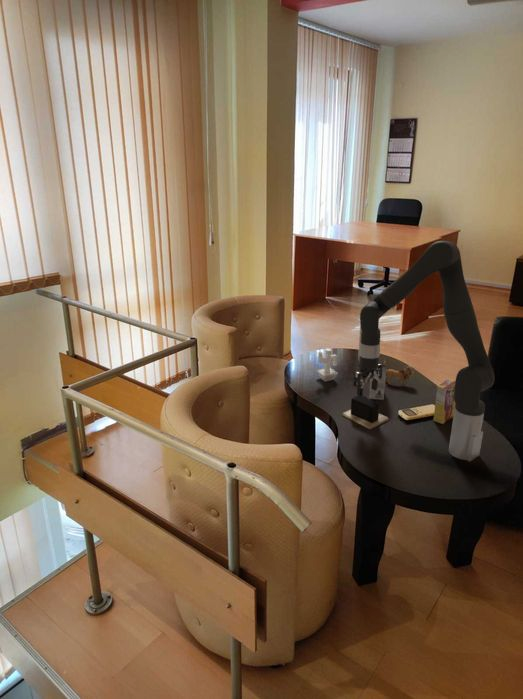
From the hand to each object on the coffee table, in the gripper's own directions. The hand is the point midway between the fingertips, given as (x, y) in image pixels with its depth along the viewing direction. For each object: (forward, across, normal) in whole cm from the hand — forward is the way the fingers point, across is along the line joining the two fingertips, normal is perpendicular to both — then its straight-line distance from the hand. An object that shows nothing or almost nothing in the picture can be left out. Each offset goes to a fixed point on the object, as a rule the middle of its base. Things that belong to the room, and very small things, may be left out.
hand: (367, 392), depth 195 cm
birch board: (+11, 0, 0) cm, 11 cm away
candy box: (+12, -23, +20) cm, 33 cm away
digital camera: (+10, 0, 0) cm, 11 cm away
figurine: (+11, -15, -35) cm, 40 cm away
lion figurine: (+11, -36, -11) cm, 39 cm away
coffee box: (+11, -20, -10) cm, 25 cm away
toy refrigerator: (+11, -46, -38) cm, 60 cm away
